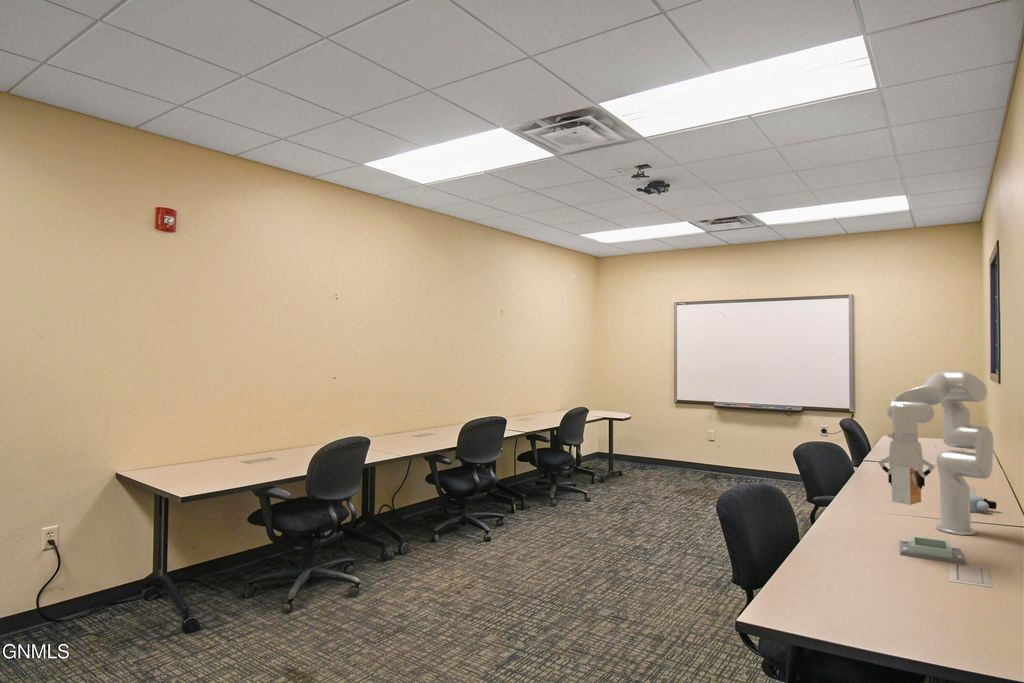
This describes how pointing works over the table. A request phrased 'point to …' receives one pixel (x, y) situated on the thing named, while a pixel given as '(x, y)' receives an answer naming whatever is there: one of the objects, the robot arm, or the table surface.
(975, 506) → the figurine
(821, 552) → the table surface
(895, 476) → the small box
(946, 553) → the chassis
